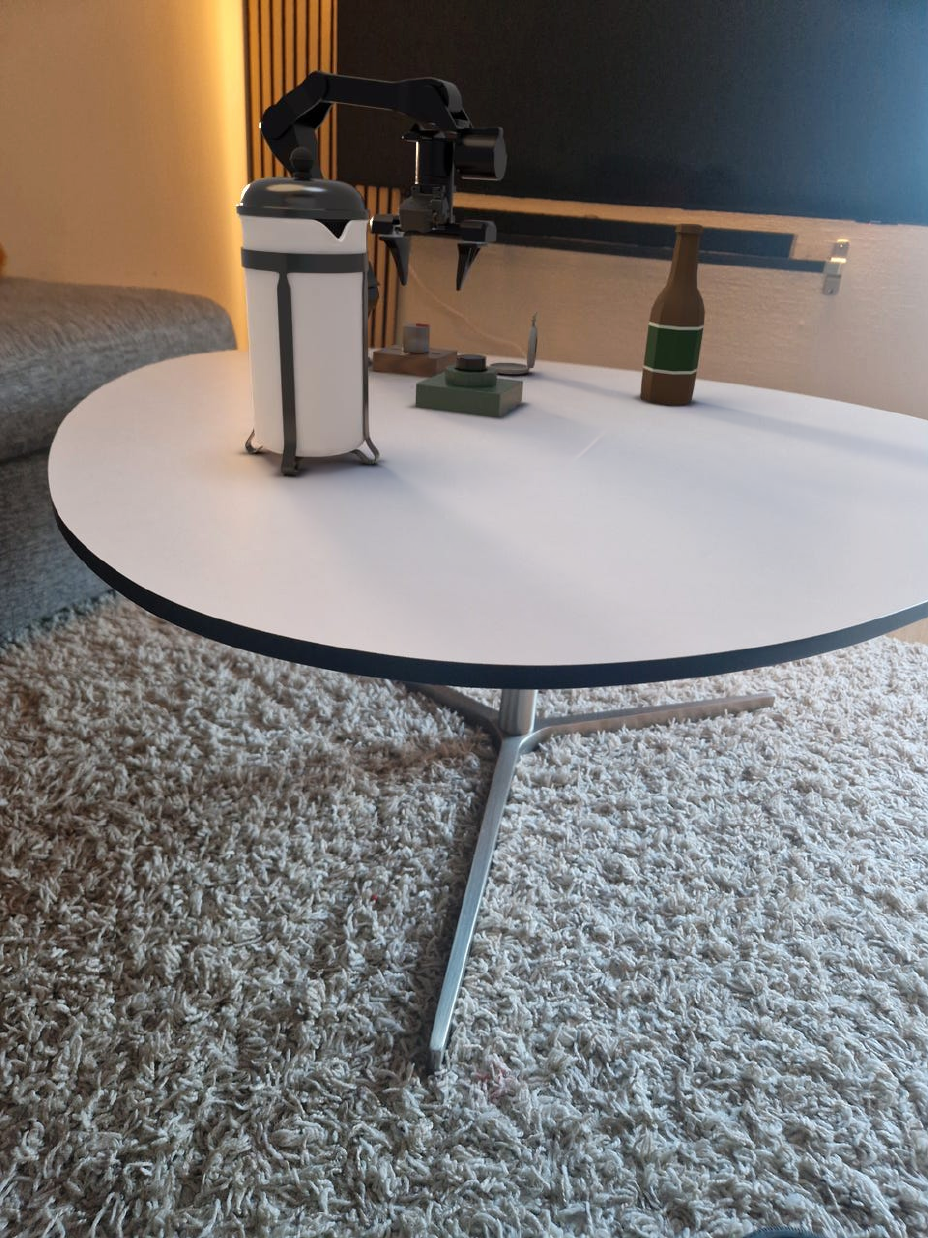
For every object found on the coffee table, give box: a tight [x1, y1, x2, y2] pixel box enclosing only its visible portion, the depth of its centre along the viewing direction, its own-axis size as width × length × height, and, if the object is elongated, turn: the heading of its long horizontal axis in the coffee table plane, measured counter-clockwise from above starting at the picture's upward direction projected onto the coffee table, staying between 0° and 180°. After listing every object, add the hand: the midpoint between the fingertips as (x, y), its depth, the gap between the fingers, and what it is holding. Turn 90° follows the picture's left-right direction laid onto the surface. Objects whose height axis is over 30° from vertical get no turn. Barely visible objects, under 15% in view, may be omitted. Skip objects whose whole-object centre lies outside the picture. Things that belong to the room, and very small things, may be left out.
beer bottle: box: [639, 223, 706, 406], centre depth 128 cm, size 8×8×24 cm
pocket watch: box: [488, 310, 538, 376], centre depth 145 cm, size 8×8×10 cm
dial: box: [401, 322, 431, 353], centre depth 144 cm, size 4×4×4 cm
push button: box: [456, 353, 487, 372], centre depth 122 cm, size 4×4×2 cm
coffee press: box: [235, 147, 381, 476], centre depth 92 cm, size 17×16×30 cm
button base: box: [415, 365, 524, 419], centre depth 123 cm, size 12×10×5 cm
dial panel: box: [372, 343, 458, 378], centre depth 146 cm, size 11×9×3 cm
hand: (431, 287), depth 140 cm, fingers open, 9 cm apart
